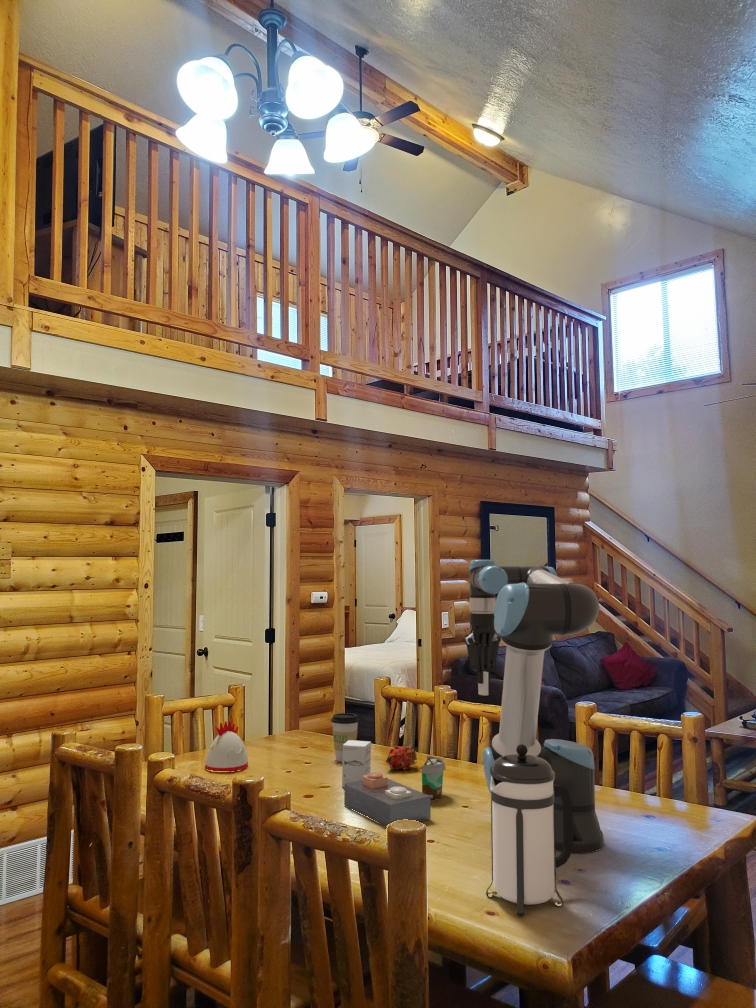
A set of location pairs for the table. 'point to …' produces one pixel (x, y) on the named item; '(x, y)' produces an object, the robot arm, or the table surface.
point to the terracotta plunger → (375, 780)
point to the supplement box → (355, 761)
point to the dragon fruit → (401, 757)
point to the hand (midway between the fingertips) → (483, 694)
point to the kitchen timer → (227, 751)
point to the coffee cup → (343, 731)
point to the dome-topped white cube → (397, 792)
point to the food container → (433, 777)
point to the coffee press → (526, 829)
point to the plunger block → (387, 803)
